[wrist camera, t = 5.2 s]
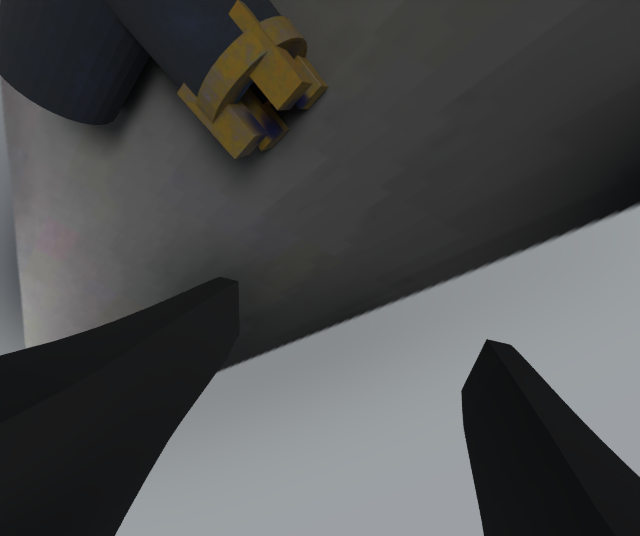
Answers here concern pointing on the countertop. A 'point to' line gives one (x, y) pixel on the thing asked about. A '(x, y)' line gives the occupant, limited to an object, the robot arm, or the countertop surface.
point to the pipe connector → (162, 61)
